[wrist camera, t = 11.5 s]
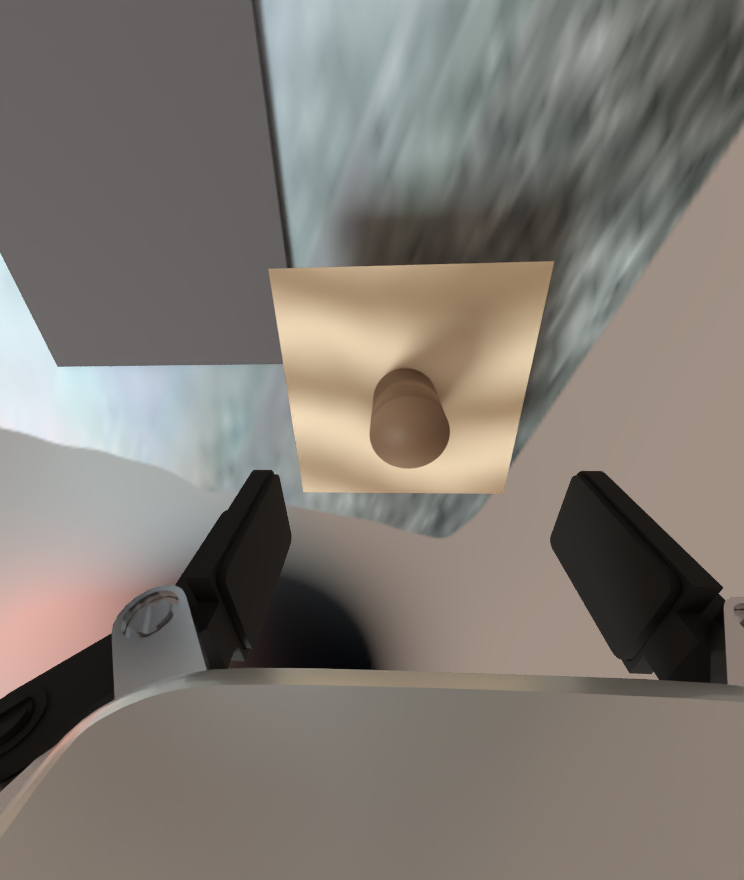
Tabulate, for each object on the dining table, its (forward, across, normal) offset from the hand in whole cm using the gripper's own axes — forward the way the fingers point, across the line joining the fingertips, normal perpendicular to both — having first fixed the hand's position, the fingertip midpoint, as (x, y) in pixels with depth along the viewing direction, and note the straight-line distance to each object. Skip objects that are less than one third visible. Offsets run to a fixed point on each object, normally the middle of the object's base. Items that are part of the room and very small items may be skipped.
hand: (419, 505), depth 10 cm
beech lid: (+12, 0, +1) cm, 12 cm away
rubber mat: (+17, +18, -10) cm, 27 cm away
